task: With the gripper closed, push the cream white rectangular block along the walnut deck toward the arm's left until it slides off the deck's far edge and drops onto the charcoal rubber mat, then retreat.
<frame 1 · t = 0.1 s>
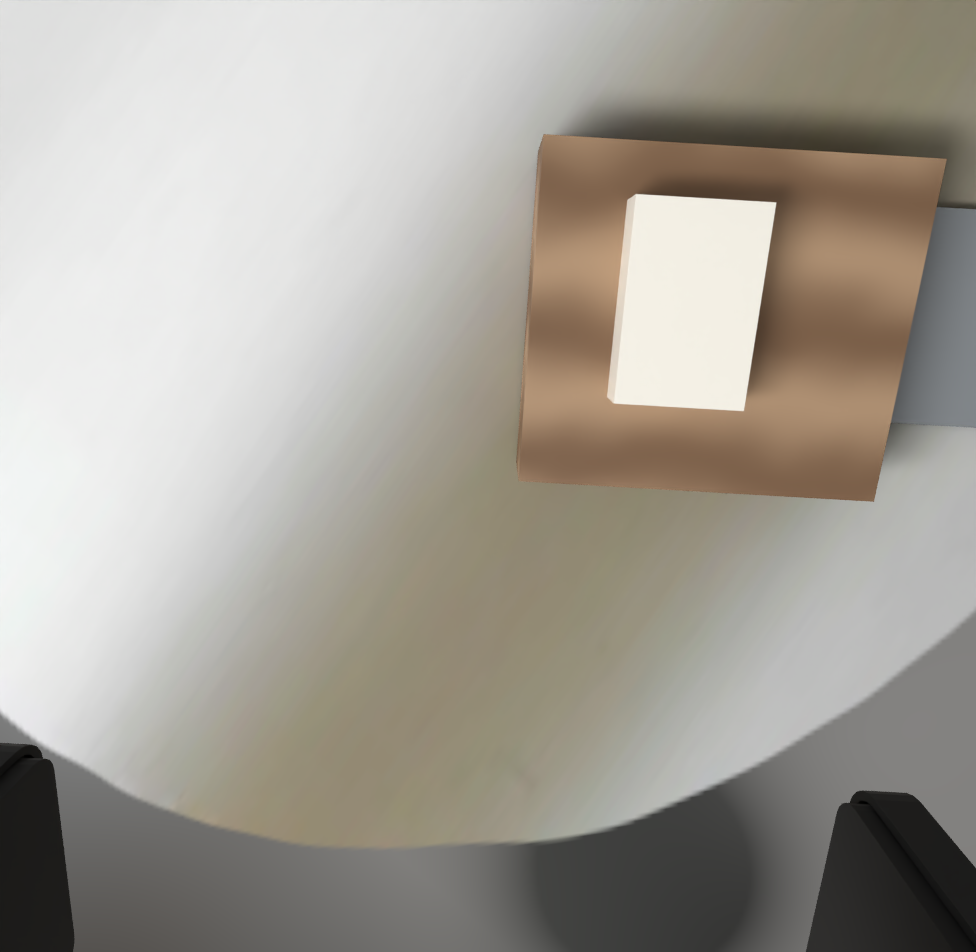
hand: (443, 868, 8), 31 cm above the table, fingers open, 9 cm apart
cream white rectangular block: (680, 305, 32), point 4 cm above the table, touching deck
deck: (695, 325, 37), on the table
mat: (973, 322, 36), on the table
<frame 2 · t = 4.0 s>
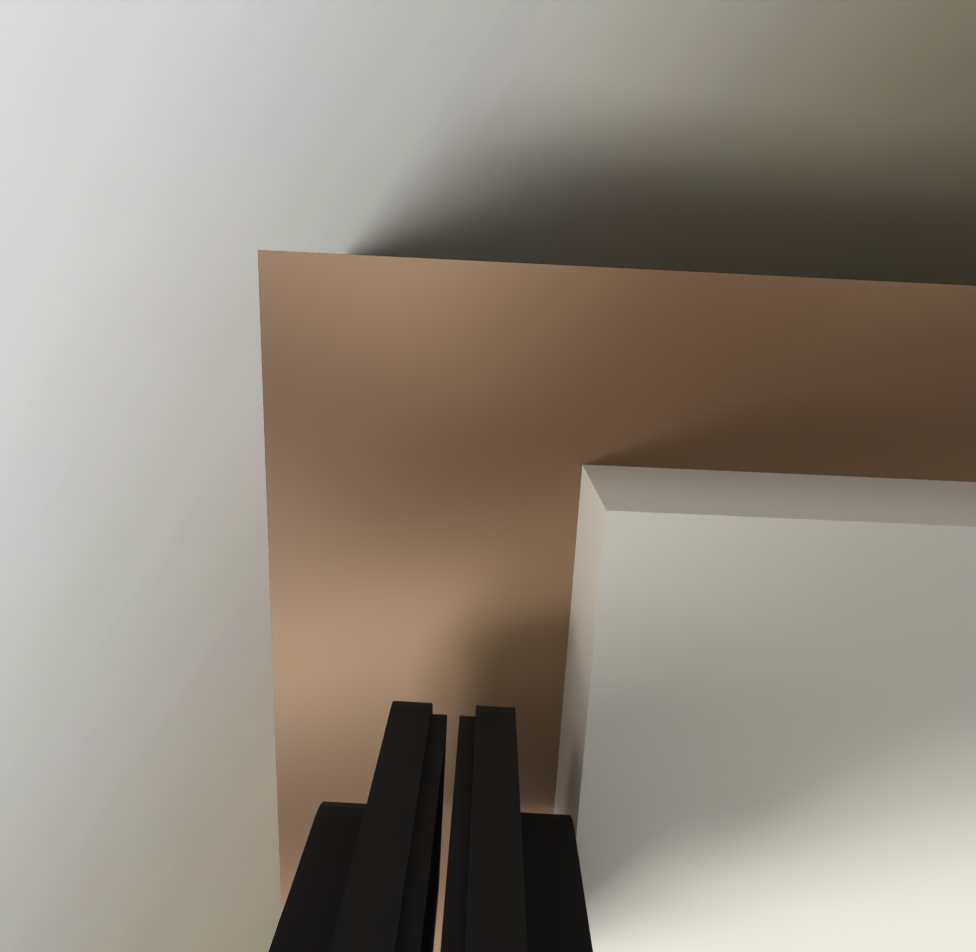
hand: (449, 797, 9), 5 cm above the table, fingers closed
cream white rectangular block: (758, 765, 10), point 4 cm above the table, touching deck, gripper
deck: (765, 683, 14), on the table
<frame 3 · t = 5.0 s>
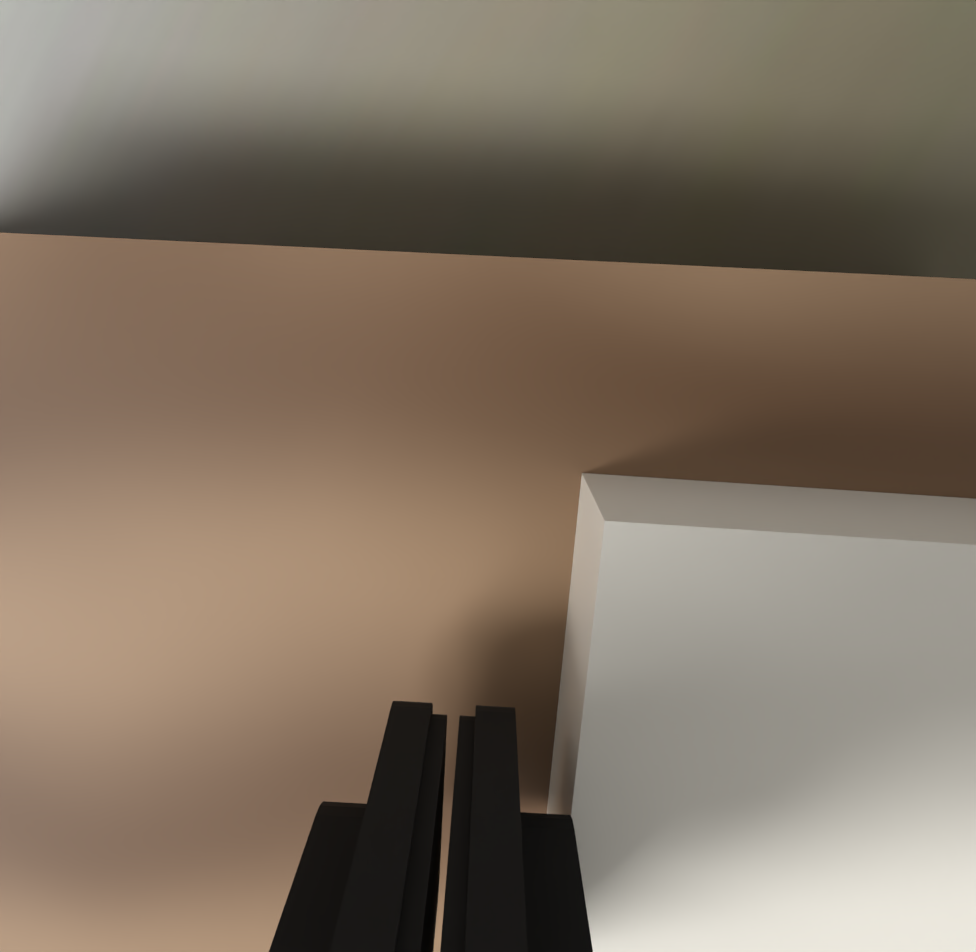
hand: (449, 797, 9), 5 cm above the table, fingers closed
cream white rectangular block: (750, 773, 10), point 4 cm above the table, touching gripper
deck: (426, 662, 14), on the table
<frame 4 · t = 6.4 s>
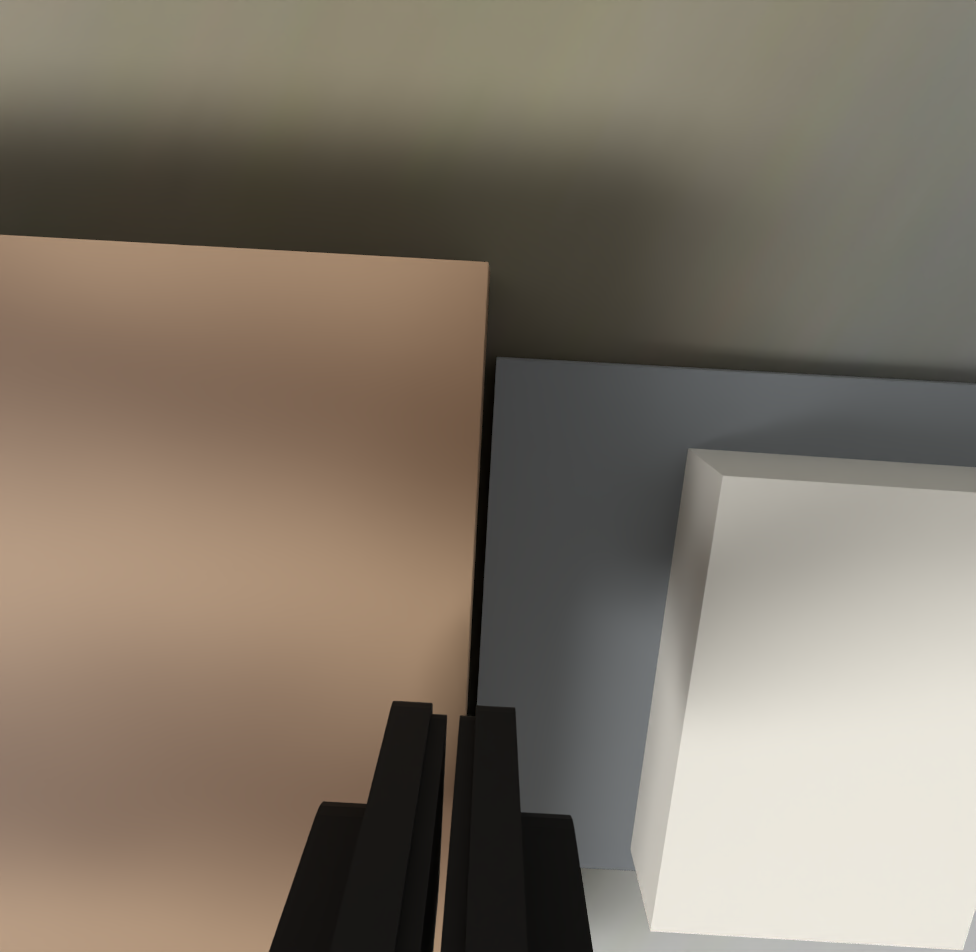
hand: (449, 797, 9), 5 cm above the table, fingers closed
cream white rectangular block: (854, 736, 12), point 2 cm above the table, tilted 180°, touching mat
deck: (38, 647, 14), on the table
mat: (743, 640, 14), on the table
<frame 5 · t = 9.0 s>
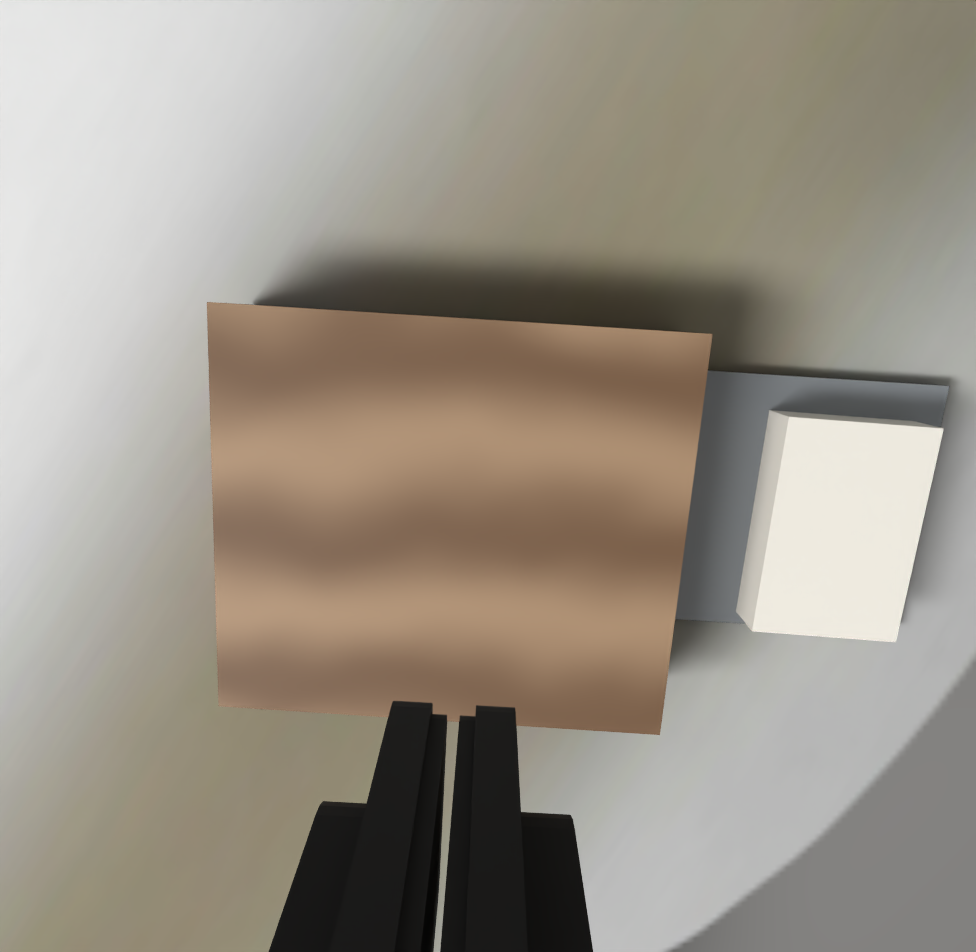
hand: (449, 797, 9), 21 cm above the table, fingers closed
cream white rectangular block: (844, 533, 28), point 2 cm above the table, tilted 180°, touching mat
deck: (455, 505, 30), on the table
mat: (792, 504, 30), on the table
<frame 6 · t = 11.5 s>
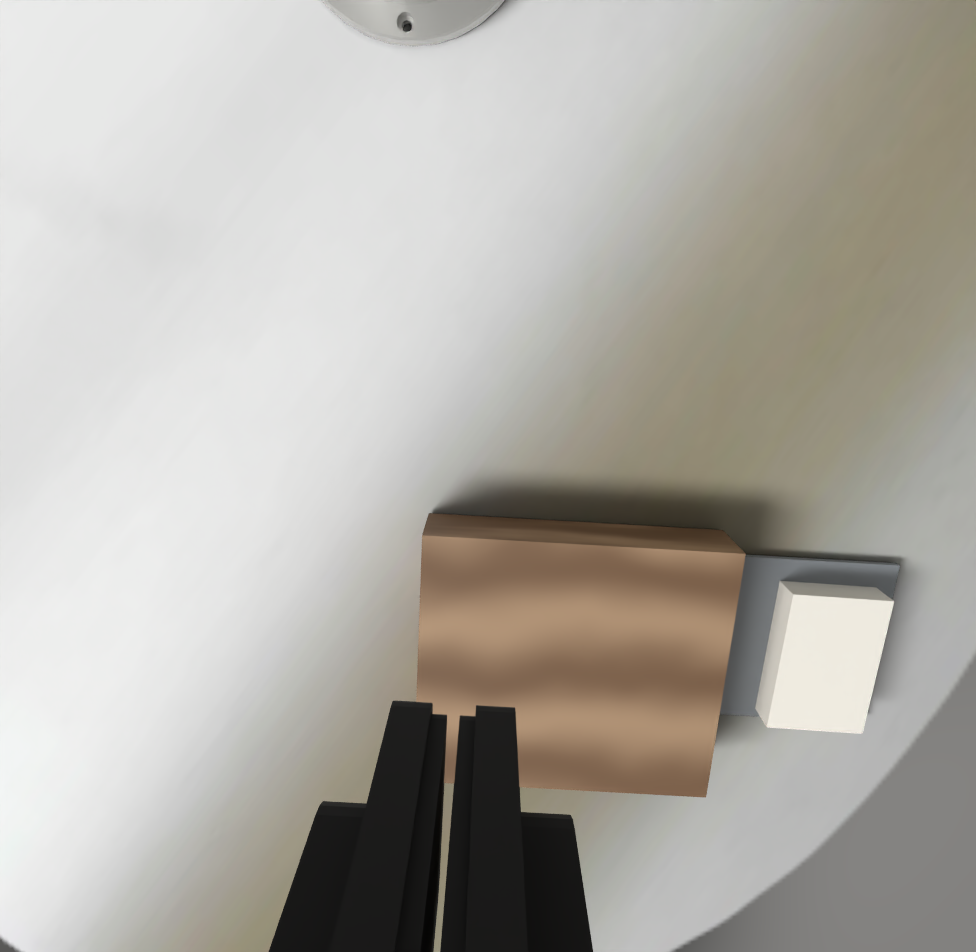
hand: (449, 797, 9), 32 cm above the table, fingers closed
cream white rectangular block: (828, 666, 42), point 2 cm above the table, tilted 180°, touching mat
deck: (564, 639, 44), on the table
mat: (794, 638, 44), on the table
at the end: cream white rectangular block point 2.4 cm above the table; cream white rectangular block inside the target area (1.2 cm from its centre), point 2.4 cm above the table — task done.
